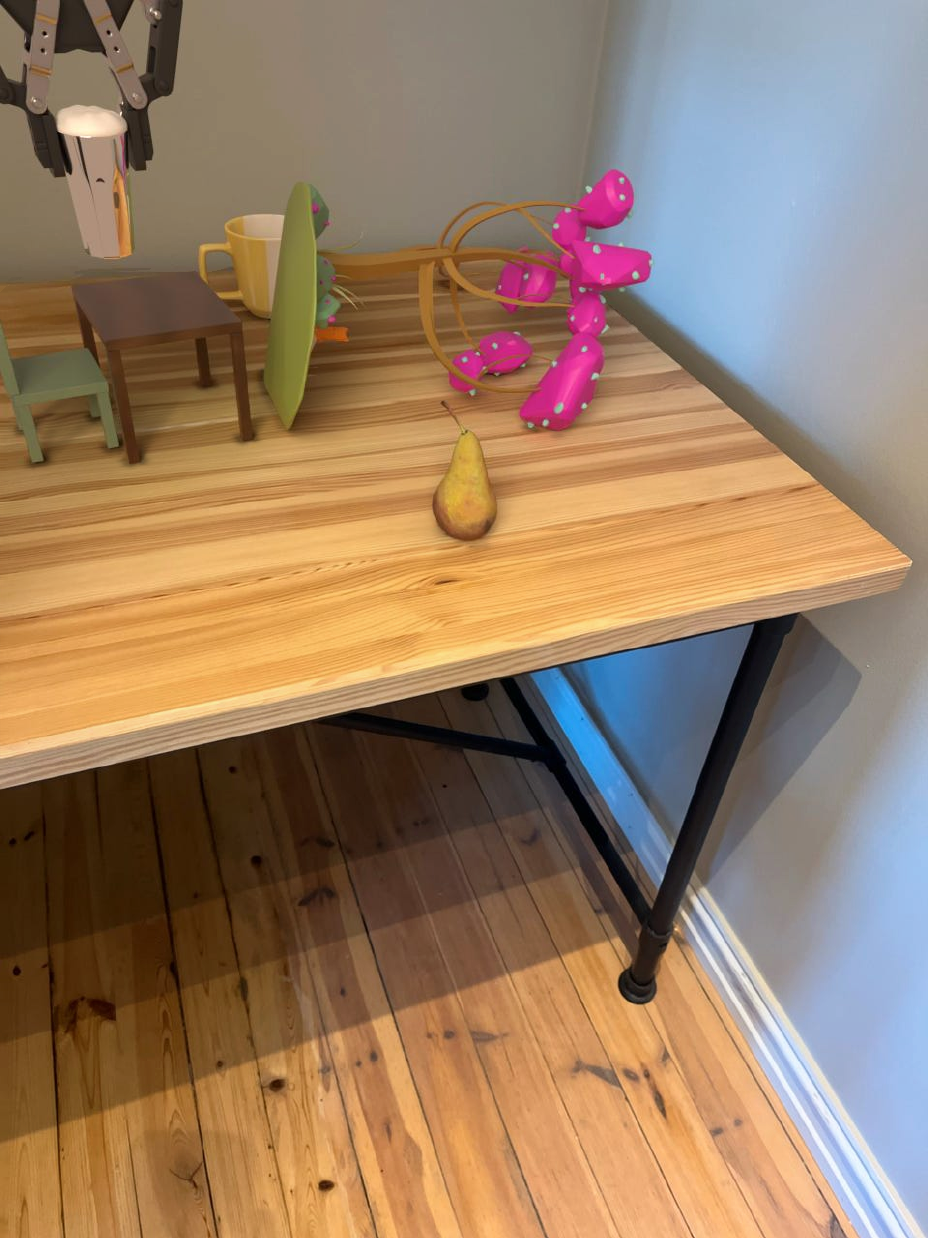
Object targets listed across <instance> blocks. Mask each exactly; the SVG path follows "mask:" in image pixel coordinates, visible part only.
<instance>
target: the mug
mask: <svg viewBox="0 0 928 1238" xmlns="http://www.w3.org/2000/svg"><path fill="white" fill-rule="evenodd" d="M284 216H285V214H275V213H257V214H247V215H242V216H238V217H235V218H232V219H229V220H228V221H227V222H225V223H224V226H223V229H224V233H225V237H226V242H221V243H220V242H218V243H216V242H215V243H204V244H201V245H199V248H198V269H199V276H200V277H201V278H202V279H203V280H204V281H205V282H206V283H207V284H208V285H209V287H210V288H211V286H210V283H209V278H208V271H207V255H208V253H212V252H221V253H224V254H226V255H228V256H229V257H230V259H231V261H232V266H233V270H234V274H235V278H236V282H237V287H238V290H231V291H214V290H213V291H214V292H215V293H216V294H217V295H218V296H219V297H220V299H221V300H222V301H241V302H242V304H243V305H244V306H245V307H246V308H247V309H248V310H249V312H250V313H252V314H253V315H254V316H256V317H258V318H261V319H266V320H271V313H272V305H273V298H274V290H275V283H276V275H277V268H278V260H279V253H280V245H281V238H282V230H283V223H284Z"/></svg>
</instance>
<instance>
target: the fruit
mask: <svg viewBox="0 0 928 1238" xmlns="http://www.w3.org/2000/svg"><path fill="white" fill-rule="evenodd" d="M440 405H441V406H443V407H444V408H445V409H446V411H448V413H449V414H450V415H451V417H452V418H453V419H454V421H455V422H456V424H457V426H458V427H459V429H460V431H461V433H460V434H459V436H458V438H457V442H456V444H455V446H454V449H453V452H452V455H451V456H452V457H451V460H450V463H449V466H448V469H447V471H446V473H445V475H444V477H443V478H441V480H440V482H439V483H438V485H437V487H436V489H435V491H434V494H433V497H432V504H431V505H432V513H433V516H434V518H435V521H436V523H437V525H438V526H439V528H440V529H441V530H442V531H443V532H444V533H445V534H446V535H447V536H449V537H450V538H453V539H456V540H460V541H473V540H474V541H475V540H478V539H481V538H483V537H484V536H486V535H487V534H488V533H489V531H490V530H491V529H492V527H493V526H494V524H495V521H496V519H497V515H498V501H497V497H496V493H495V490H494V489H493V486H492V484H491V480H490V477H489V472H488V468H487V464H486V461H485V457H484V451H483V447H482V444H481V442H480V440H479V438H478V436H477V435H476V434H475V433H474V432H473V431H472V430H470V429H466V428H465V427H464V426H463V424H462V423H461V422H460V420H459V419H458V417H457V415H456V413H455V412H454V410H453V408H451V406H450V405H449V403H447V402H446V401H445V400H441V401H440Z"/></svg>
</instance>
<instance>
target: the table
mask: <svg viewBox="0 0 928 1238" xmlns="http://www.w3.org/2000/svg"><path fill="white" fill-rule="evenodd" d="M209 286H210V284H209V285H208V284H207V283H206V282H205V281H204V280H203V279H202V278H201V277H200V274H199V273H198V272H197V271H195V270H193V271H185V272H184V271H183V272H176V273H167V274H158V275H149V276H141V277H140V276H139V277H132V278H124V279H114V280H108V281H98V282H88V283H81V284H80V283H79V284H72V285H70V288H71V293H72V296H73V297H72V298H73V303H74V307H75V311H76V316H77V321H78V327H79V330H80V331H79V332H80V335H81V339H82V345H83V349H84V348H88V349H89V351H90V352H91V354H92V356H93V357H94V359H95V361H96V363H97V364H98V366H99V368H100V369H101V365H100V360H99V355H98V349H97V346H96V345H97V344H96V341H95V335H94V332H95V333H96V335H97V337H98V339H99V340H100V342H101V344H102V345H103V347H104V350H105V354H106V359H107V360H106V361H107V364H108V369H109V375H110V381H111V385H112V390H113V395H114V401H115V405H116V411H117V416H118V420H119V425H120V431H121V437H122V441H123V445H124V451H125V455H126V460H127V462H128V464H129V465H131V464H137V463H138V464H139V463H140V462H141V457H140V453H139V448H138V443H137V437H136V431H135V426H134V420H133V416H132V410H131V405H130V399H129V394H128V389H127V383H126V378H125V372H124V368H123V362H122V357H121V351H122V350H129V349H135V348H143V347H151V346H157V345H158V346H159V345H164V344H171V343H176V342H183V341H190V340H194V345H195V354H196V361H197V367H198V376H199V383H200V385H201V386H202V387H203V388H206V387H212V385H213V384H212V376H211V367H210V360H209V359H210V358H209V352H208V350H209V349H208V343H207V338H210V337H212V338H213V337H218V336H225V335H229V342H230V343H229V344H230V352H231V363H232V370H233V371H232V372H233V380H234V381H233V383H234V390H235V391H234V392H235V399H236V410H237V419H238V428H239V437H240V439H241V440H242V441H243V442H247V441H252V440H254V439H253V427H252V426H253V425H252V416H251V405H250V395H249V385H248V384H249V383H248V375H247V374H248V372H247V364H246V352H245V342H244V331H243V321H242V320H241V319H240V318H239V317H238V316H237V315H236V314H235V312H233V311H232V310H231V308H230V307H229V306H228V305H227V304H226V303H225V302H224V300H221V299H220V297H219V296H218V295H217V294H216V293H215V292H216V291H215V292H214V290H213V289H212V288H211V286H210V287H209ZM93 330H94V331H93Z"/></svg>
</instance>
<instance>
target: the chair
mask: <svg viewBox="0 0 928 1238" xmlns="http://www.w3.org/2000/svg"><path fill="white" fill-rule="evenodd" d="M0 375H1V378H2V381H3V385H4V389H5V392H6V395H7V397H9V398H10V401H11V402H10V403H11V406H12V409H13V414H14V417H15V421H16V424H17V427H18V429H19V431H22V432H23V435H24V439H25V442H26V446H27V450H28V453H29V457H30V458H29V459H30V460H31V462H32V464H33V463H37V462H38V463H39V462H43V461H44V460H45V459H44V455H43V451H42V448H41V443H40V440H39V436H38V432H37V429H36V425H35V421H34V417H33V414H32V409H31V406H30V405H35V404H41V403H47V402H54V401H60V400H66V399H72V398H78V397H85V396H86V400H87V404H88V410H89V414H90V415H91V417H92V418H97V417H100V420H101V421H100V422H101V425H102V430H103V435H104V439H105V444H106V446H107V449H113V448H118V447H120V444H119V439H118V433H117V429H116V424H115V423H116V422H115V419H114V418H115V417H114V413H113V408H112V403H111V397H110V386H109V381H108V380H107V378H106V377H105V375H104V372H103V371H102V369H101V367H100V368H99V366H98V364H97V363H96V361H95V359H94V357H93V356H92V354H91V352H90V351H89V349H88V348H84V347H83V348H79V349H71V350H70V349H69V350H64V351H58V352H56V351H55V352H49V353H44V354H36V355H29V356H21V357H16V358H11V355H10V350H9V347H8V344H7V340H6V336H5V332H4V328H3V324H2V321H1V319H0Z"/></svg>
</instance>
